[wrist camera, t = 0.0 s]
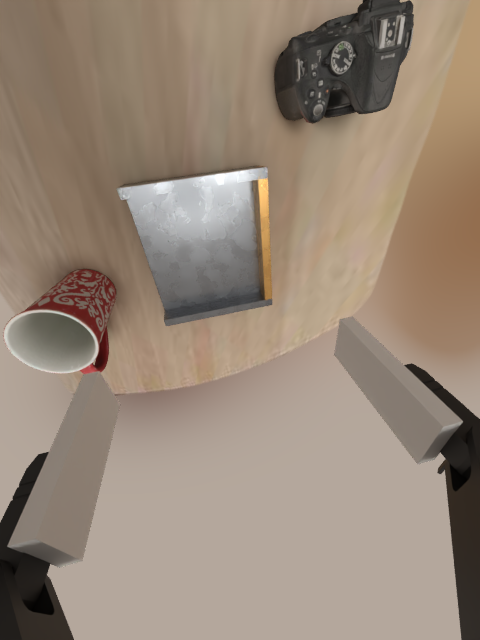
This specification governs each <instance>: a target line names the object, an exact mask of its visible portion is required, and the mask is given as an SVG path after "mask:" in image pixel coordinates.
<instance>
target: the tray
mask: <svg viewBox="0 0 480 640" xmlns="http://www.w3.org/2000/svg"><path fill="white" fill-rule="evenodd" d="M117 191H118V194H119V197H120V199H121V200H125V199H127V202H128V205H129V208H130V211H131V214H132V217H133V220H134V222H135V225H136V228H137V231H138V234H139V237H140V240H141V243H142V246H143V248H144V251H145V254H146V257H147V260H148V263H149V266H150V269H151V272H152V274H153V277H154V280H155V283H156V286H157V289H158V292H159V295H160V298H161V300H162V303H163V306H164V309H165V315H164V322H165V325H166V326H170V325H175V324H180V323H185V322H189V321H194V320H199V319H204V318H209V317H214V316H219V315H224V314H229V313H234V312H239V311H244V310H249V309H254V308H258V307H263V306H268V305H272V285H271V257H270V230H269V203H268V175H267V167H264V166H253V167H246V168H239V169H232V170H225V171H218V172H211V173H204V174H197V175H190V176H183V177H176V178H169V179H162V180H155V181H148V182H141V183H134V184H127V185H123V186H121V187H119V188H117Z"/></svg>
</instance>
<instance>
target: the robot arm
mask: <svg viewBox="0 0 480 640" xmlns="http://www.w3.org/2000/svg"><path fill="white" fill-rule="evenodd" d="M334 355H335V356H336V358H337V359H338V360H339V361H340V363H341V364H342V366H343V367H344V368H345V369H346V371H347V372H348V374H349V375H350V376H351V377H352V379H353V380H354V381H355V383H356V384H357V385H358V387H359V388H360V389H361V391H362V392H363V393H364V394H365V396H366V397H367V398H368V400H369V401H370V402H371V404H372V405H373V406H374V408H375V409H376V410H377V412H378V413H379V414H380V416H381V417H382V418H383V419H384V421H385V422H386V423H387V425H388V426H389V427H390V429H391V430H392V431H393V433H394V434H395V435H396V436H397V438H398V439H399V440H400V442H401V443H402V444H403V446H404V447H405V448H406V450H407V451H408V452H409V454H410V455H411V456H412V458H413V459H414V460H415V461H416V463H417V464H421V463H424V462H427V461H431V460H434V459H435V458H436V457H437V456H438V454H439V453H440V452H441V454H442V455H443V456H444V457H445V458H446V460H445V461H444V462H443V463H442V464H441V466H440V467H439V468H438V473H439V474H441V473H442V472H443V471H444V470H445V475H446V485H447V495H448V504H449V505H448V506H449V516H450V526H451V536H452V546H453V556H454V567H455V577H456V587H457V597H458V607H459V618H460V628H461V638H462V640H480V419H479V418H478V417H476V416H475V415H474V414H473V413H472V412H471V411H470V410H469V409H467V408H466V407H465V406H464V405H463V404H462V403H461V402H460V401H458V400H457V399H456V398H455V397H454V396H453V395H452V394H451V393H449V392H448V391H447V390H446V389H444V388H443V386H441V385H440V384H439V383H438V382H437V381H435V380H434V378H433V377H431V376H430V375H429V374H428V373H427V372H426V371H425V370H423V369H421V368H419V367H417V366H416V365H414V364H407V365H403V364H402V363H401V362H400V361H399V360H398V359H397V358H396V357H395V356H394V355H393V354H391V352H389V351H388V350H387V349H386V348H385V347H384V346H383V345H382V344H381V343H380V342H379V341H378V340H377V339H376V338H375V337H374V336H373V335H372V334H371V333H369V332H368V331H367V330H366V329H365V328H364V327H363V326H362V325H361V324H360V323H359V322H358V321H357V320H356V319H355V318H354V317H348V318H344V319H340V322H339V329H338V335H337V341H336V347H335V353H334ZM119 407H120V403H119V401H118V400H117V398H116V397H115V395H114V393H113V392H112V390H111V389H110V387H109V386H108V384H107V383H106V381H105V380H104V378H103V377H102V375H101V373H100V372H99V371H97V372H93V373H88V374H83V376H82V379H81V381H80V383H79V385H78V388H77V390H76V392H75V394H74V397H73V399H72V401H71V403H70V406H69V408H68V410H67V413H66V415H65V417H64V419H63V422H62V424H61V426H60V428H59V431H58V433H57V435H56V438H55V440H54V442H53V444H52V446H51V449H50V451H49V452H46V453H42V454H39V455H38V456H37V457H36V458H35V459H34V461H33V462H32V463H31V464H30V465H29V467H28V468H27V469H26V471H25V473H24V475H23V477H22V479H21V481H20V484H19V487H18V488H17V490H16V492H15V494H14V496H13V500H12V501H11V502H10V504H9V506H8V508H7V510H6V512H5V514H4V516H3V518H2V520H1V522H0V640H74V639H73V636H72V633H71V631H70V628H69V626H68V623H67V620H66V618H65V616H64V613H63V610H62V608H61V605H60V603H59V600H58V597H57V595H56V592H55V590H54V587H53V585H52V582H51V580H50V578H49V577H48V576H47V572H48V569H49V566H50V564H52V565H55V566H57V567H63V566H66V565H70V564H73V563H76V562H80V561H82V559H83V555H84V552H85V547H86V543H87V539H88V535H89V531H90V527H91V523H92V519H93V515H94V510H95V506H96V502H97V498H98V494H99V489H100V486H101V481H102V477H103V473H104V469H105V465H106V461H107V457H108V453H109V449H110V445H111V440H112V436H113V432H114V428H115V424H116V420H117V416H118V411H119Z"/></svg>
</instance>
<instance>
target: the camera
mask: <svg viewBox="0 0 480 640" xmlns="http://www.w3.org/2000/svg"><path fill="white" fill-rule="evenodd" d="M399 1H400V0H363V3H362V4H361V5H360V6H359V7H358V13H354V14H351V15H347V16H342V17H338V18H335V19H332V20H329V21H327V22H325V23H324V24H322V25H321V26H320V27H318V28H317V29H316V30H314V31H313V32H312V31H309V32H305V33H303V34H300V35H299V36H296V37H292V38H291V40H290V41H289V45H288V47H287V48H286V49H285V50H284V51H283V52H282V53H281V54H280V56H279V58H278V61H277V64H276V69H275V88H276V96H277V101H278V104H279V107H280V110H281V112H282V114H283V115H284V117H285V118H286V119H288V120H298V119H301V118H304V119H305V120H306V121H307V122H309V123H316V122H318V121H320V119H321V118H322V117H323V116H325V117H326V118H328V117H335V116H341V115H345V114H350V113H354V112H357V113H358V114H367V113H373V112H377V111H380V110H383V109H385V108H387V107H388V106H389V104H390V102H391V99H392V96H393V92H394V88H395V84H396V80H397V76H398V72H399V68H400V65H401V63H402V62H403V60H404V59H405V57H406V56H407V53H408V51H409V50H410V46H411V42H412V35H413V25H414V24H413V16H414V14H412V12H413V4H412V2H411V1H410V0H409V1H407V2H402V3H400V2H399Z"/></svg>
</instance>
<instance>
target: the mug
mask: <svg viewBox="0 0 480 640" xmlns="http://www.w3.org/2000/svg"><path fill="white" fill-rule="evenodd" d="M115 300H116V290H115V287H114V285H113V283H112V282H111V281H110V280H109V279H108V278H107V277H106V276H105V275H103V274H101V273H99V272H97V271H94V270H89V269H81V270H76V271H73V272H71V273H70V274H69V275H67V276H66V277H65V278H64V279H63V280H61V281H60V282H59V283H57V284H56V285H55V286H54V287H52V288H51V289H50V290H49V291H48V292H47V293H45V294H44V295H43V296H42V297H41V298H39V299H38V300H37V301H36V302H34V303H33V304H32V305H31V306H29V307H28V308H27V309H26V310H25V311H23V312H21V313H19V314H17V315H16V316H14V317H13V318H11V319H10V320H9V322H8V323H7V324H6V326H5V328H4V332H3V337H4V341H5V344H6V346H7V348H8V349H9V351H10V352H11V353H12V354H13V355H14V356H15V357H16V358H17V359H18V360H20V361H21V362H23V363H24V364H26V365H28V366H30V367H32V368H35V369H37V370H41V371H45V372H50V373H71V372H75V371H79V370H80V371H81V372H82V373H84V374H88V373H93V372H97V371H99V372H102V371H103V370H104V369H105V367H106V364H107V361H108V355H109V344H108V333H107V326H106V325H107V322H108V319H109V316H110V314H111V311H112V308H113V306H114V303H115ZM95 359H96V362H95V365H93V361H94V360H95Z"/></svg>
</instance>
